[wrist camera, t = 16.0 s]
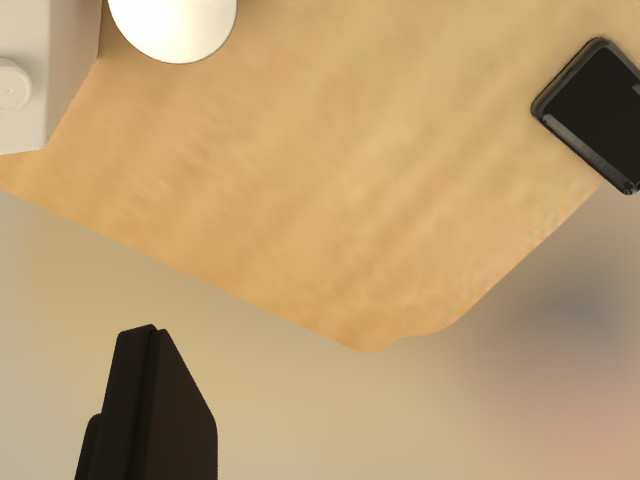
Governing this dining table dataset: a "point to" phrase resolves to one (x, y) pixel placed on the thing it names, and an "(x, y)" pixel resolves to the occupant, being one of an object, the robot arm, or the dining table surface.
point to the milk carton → (42, 65)
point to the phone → (597, 112)
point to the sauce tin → (175, 27)
